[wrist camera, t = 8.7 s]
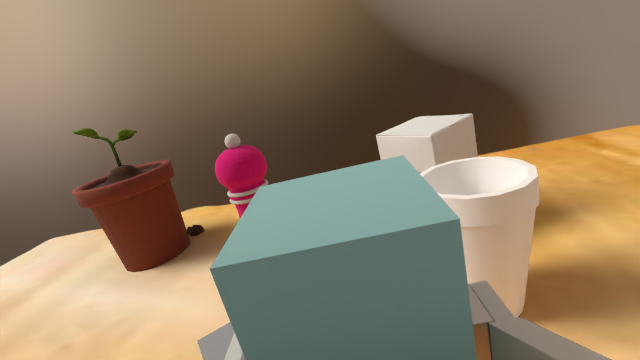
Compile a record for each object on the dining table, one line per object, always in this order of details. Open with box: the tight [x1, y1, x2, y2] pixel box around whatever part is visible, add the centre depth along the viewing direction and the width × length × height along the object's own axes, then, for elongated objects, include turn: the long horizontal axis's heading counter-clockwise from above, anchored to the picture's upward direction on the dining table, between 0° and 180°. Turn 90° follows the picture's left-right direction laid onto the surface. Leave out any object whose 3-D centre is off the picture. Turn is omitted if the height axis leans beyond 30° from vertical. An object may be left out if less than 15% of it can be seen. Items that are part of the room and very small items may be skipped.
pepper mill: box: [215, 134, 268, 218], centre depth 41 cm, size 7×7×20 cm
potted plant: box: [72, 128, 204, 272], centre depth 61 cm, size 18×22×25 cm
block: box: [210, 155, 477, 360], centre depth 9 cm, size 4×4×10 cm
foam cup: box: [420, 157, 539, 318], centre depth 30 cm, size 10×9×13 cm
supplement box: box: [376, 114, 478, 173], centre depth 44 cm, size 9×9×15 cm
